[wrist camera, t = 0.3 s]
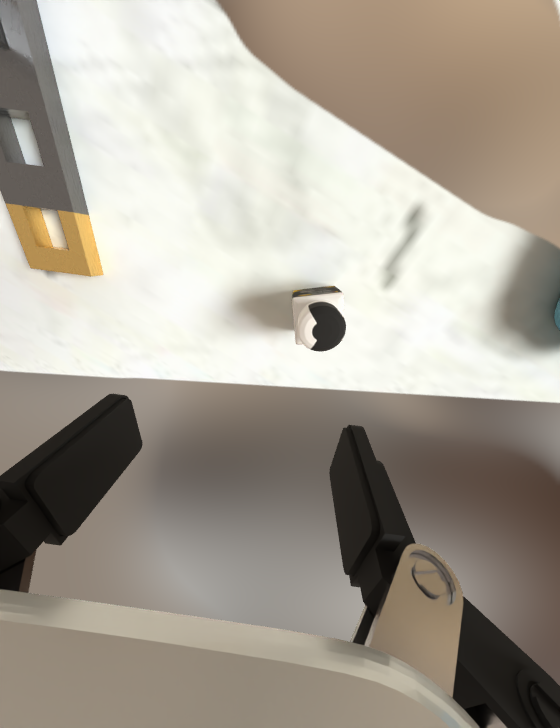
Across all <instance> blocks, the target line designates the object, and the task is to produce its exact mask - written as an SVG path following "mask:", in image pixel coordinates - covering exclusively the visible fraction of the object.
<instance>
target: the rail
mask: <svg viewBox="0 0 560 728" xmlns="http://www.w3.org/2000/svg"><path fill="white" fill-rule="evenodd" d="M0 19H1V23H2V26H3V29H4V33H5V36H6V39H7V43H8V46H9V50H2V49H0V190H1V193H2V195H3V198H4V201H5V203H6V206H7V208H8V211H9V214H10V216H11V219H12V221H13V224H14V227H15V229H16V232H17V234H18V237H19V240H20V242H21V245H22V247H23V250H24V252H25V255H26V258H27V260H28V263H29V265H30V268H33V269H41V270H48V271H56V272H63V273H70V274H78V275H85V276H98V275H103V271H102V267H101V263H100V259H99V255H98V251H97V247H96V243H95V239H94V235H93V230H92V226H91V222H90V218H89V214H88V210H87V206H86V202H85V198H84V194H83V190H82V185H81V181H80V177H79V173H78V169H77V165H76V161H75V157H74V153H73V149H72V145H71V140H70V136H69V132H68V128H67V124H66V120H65V116H64V112H63V108H62V104H61V100H60V96H59V91H58V87H57V83H56V79H55V75H54V71H53V67H52V63H51V59H50V55H49V51H48V46H47V42H46V38H45V34H44V30H43V26H42V22H41V18H40V14H39V10H38V6H37V1H36V0H0ZM11 118H18V119H26V120H31V123H32V127H33V130H34V133H35V137H36V140H37V143H38V147H39V150H40V154H41V157H42V160H43V164H44V167H42V166H35V165H27V164H25V160H24V157H23V154H22V151H21V148H20V145H19V142H18V139H17V136H16V133H15V130H14V127H13V124H12V121H11ZM41 209H46V210H53V211H58V214H59V217H60V221H61V224H62V227H63V231H64V234H65V237H66V241H67V244H68V247H69V249H65V248H58V247H53V246H52V243H51V240H50V237H49V234H48V231H47V228H46V225H45V222H44V218H43V215H42V212H41Z"/></svg>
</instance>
